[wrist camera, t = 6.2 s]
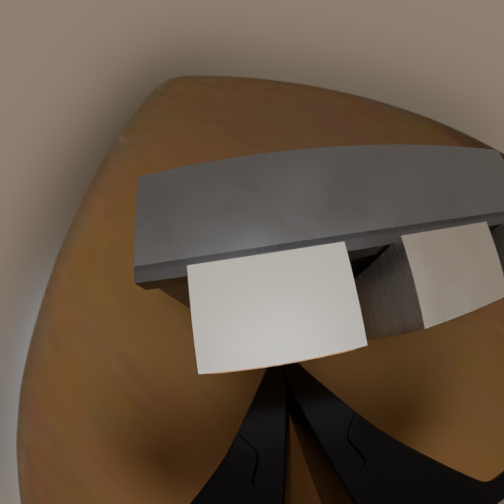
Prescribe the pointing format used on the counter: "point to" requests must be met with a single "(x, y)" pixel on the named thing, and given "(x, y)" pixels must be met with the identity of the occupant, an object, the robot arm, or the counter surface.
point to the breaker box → (339, 223)
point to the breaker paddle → (274, 309)
